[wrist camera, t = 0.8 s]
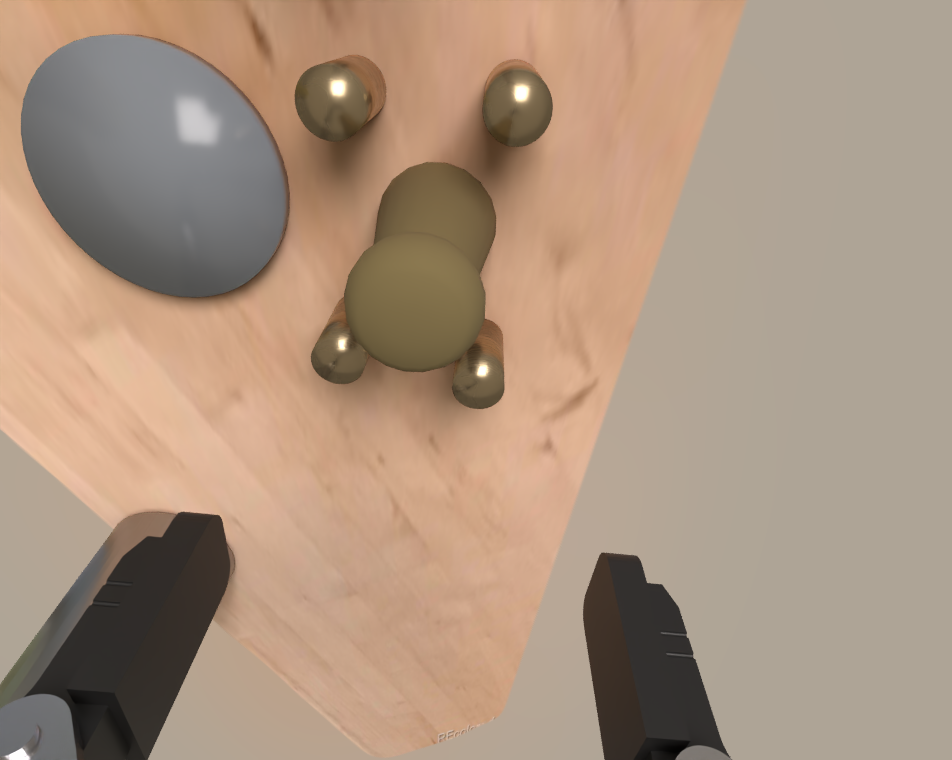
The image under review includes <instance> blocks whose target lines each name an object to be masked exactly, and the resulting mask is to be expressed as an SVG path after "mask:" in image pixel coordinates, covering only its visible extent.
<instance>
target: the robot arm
mask: <svg viewBox="0 0 952 760" xmlns="http://www.w3.org/2000/svg"><path fill="white" fill-rule="evenodd" d="M234 564H235V561H234V557H233V553H232V552H231V550H230V548H229V547H228V545H227V543H226V538H225V532H224V527H223V522H222V519H221V517H220V516H219V515H211V514H201V513H190V512H180V513H178V514H177V515H174V514H169V513H161V512H146V513H140V514H135V515H132V516H130V517H127V518H125V519H124V520H122V521H121V522H120V523H119V524H118V525H117V526H116V527H115V529H114V530H113V532H112V533H111V534H110V536H109V537H108V538H107V540H106V541H105V543H104V544H103V545H102V546H101V548H100V549H99V551H98V552H97V553H96V555H95V556H94V557H93V559H92V560H91V561H90V563H89V564H88V566H87V567H86V568H85V569H84V571H83V572H82V573H81V575H80V576H79V577H78V579H77V580H76V582H75V583H74V584H73V586H72V587H71V588H70V590H69V591H68V592H67V594H66V595H65V597H64V598H63V599H62V601H61V602H60V603H59V605H58V606H57V607H56V609H55V610H54V612H53V613H52V614H51V616H50V617H49V618H48V620H47V621H46V622H45V624H44V626H43V627H42V628H41V629H40V631H39V632H38V633H37V635H36V636H35V637H34V639H33V640H32V642H31V643H30V644H29V646H28V647H27V648H26V650H25V651H24V653H23V654H22V655H21V657H20V658H19V659H18V661H17V662H16V663H15V665H14V666H13V668H12V669H11V670H10V672H9V673H8V674H7V676H6V677H5V678H4V680H3V681H2V682H1V684H0V760H148V757H149V755H150V753H151V751H152V749H153V747H154V744H155V742H156V740H157V738H158V736H159V734H160V731H161V729H162V727H163V725H164V723H165V721H166V718H167V716H168V714H169V712H170V709H171V707H172V705H173V703H174V701H175V699H176V697H177V695H178V692H179V690H180V688H181V686H182V684H183V681H184V679H185V677H186V675H187V673H188V671H189V668H190V666H191V664H192V662H193V660H194V658H195V656H196V653H197V651H198V649H199V647H200V645H201V643H202V640H203V638H204V636H205V634H206V632H207V630H208V627H209V625H210V623H211V621H212V619H213V617H214V614H215V612H216V610H217V608H218V606H219V603H220V601H221V599H222V597H223V595H224V593H225V590H226V587H227V584H228V581H229V579H230V577H231V575H232V573H233V570H234ZM583 608H584V609H583V621H584V629H585V636H586V642H587V649H588V655H589V662H590V668H591V674H592V681H593V687H594V694H595V700H596V707H597V713H598V720H599V726H600V732H601V739H602V746H603V752H604V759H605V760H732V759H731V758H730V756H729V755H728V753H727V751H726V749H725V748H724V746H723V743H722V741H721V738H720V735H719V732H718V729H717V726H716V722H715V719H714V716H713V713H712V710H711V707H710V704H709V701H708V698H707V694H706V691H705V688H704V685H703V682H702V679H701V676H700V672H699V669H698V666H697V663H696V660H695V659H694V658H693V651H692V647H691V644H690V641H689V639H688V638H687V636H686V634H687V632H686V629H685V626H684V622H683V619H682V616H681V614H680V610H679V607H678V606H677V605H676V603H675V602H674V600H673V599H672V598H671V596H670V595H669V593H668V592H667V591H666V590H665V588H664V587H663V585H661V584H651V583H647V581H646V578H645V574H644V571H643V567H642V564H641V561H640V559H639V558H638V557H637V556H634V555H623V554H613V553H601V554H600V556H599V558H598V561H597V564H596V567H595V569H594V572H593V575H592V578H591V581H590V583H589V586H588V589H587V592H586V595H585V599H584V607H583Z"/></svg>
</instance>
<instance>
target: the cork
mask: <svg viewBox="0 0 952 760" xmlns="http://www.w3.org/2000/svg"><path fill="white" fill-rule="evenodd" d="M495 232H496V214H495V211H494V207H493V203H492V200H491V198H490V196H489V195H488V193H487V191H486V190H485V188H484V187H483V185H482V184H481V182H479V181H478V180H477V179H476V178H474V177H473V176H472V175H471V174H469V173H468V172H467V171H466V170H464V169H461V168H458V167H456V166H453V165H451V164H448V163H434V162H426V163H423V164H419V165H416V166H413V167H410V168H408V169H406V170H405V171H404V172H402V173H401V174H400V175H398V176H397V177H395V178H394V179H393V180H392V182H391V183H390V185H389V186H388V188H387V189H386V191H385V192H384V194H383V196H382V200H381V204H380V208H379V212H378V218H377V225H376V232H375V239H374V245H373V246H372V247H370V248H369V249H367V250H366V251H364V253H363V254H362V256H361V257H360V259H359V260H358V261H357V263H356V264H355V266H354V267H353V269H352V270H351V272H350V274H349V276H348V280H347V285H346V289H345V293H344V303H345V312H346V321H347V323H348V325H349V327H350V329H351V332H352V334H353V336H354V338H355V340H356V341H357V342H358V343H359V344H360V345H361V346H362V347H363V348H364V349H365V351H366V352H367V353H368V354H369V355H370V356H372V357H373V358H375V359H377V360H378V361H380V362H381V363H383V364H385V365H386V366H389V367H392V368H395V369H398V370H402V371H408V372H425V371H430V370H434V369H438V368H442V367H445V366H447V365H449V364H451V363H452V362H454V361H456V360H458V359H459V358H461V357H462V356H463V355H464V354H465V353H466V351H467V350H468V349H469V348H470V347H471V346H472V345H473V344H474V342H475V340H476V339H477V337H478V334H479V332H480V330H481V327H482V325H483V322H484V320H485V290H484V287H483V284H482V281H481V277H480V273H481V270H482V268H483V265H484V263H485V260H486V258H487V255H488V253H489V250H490V248H491V245H492V243H493V240H494V237H495Z"/></svg>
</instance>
